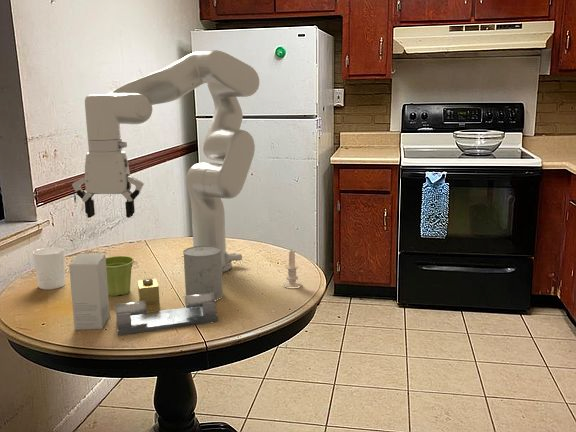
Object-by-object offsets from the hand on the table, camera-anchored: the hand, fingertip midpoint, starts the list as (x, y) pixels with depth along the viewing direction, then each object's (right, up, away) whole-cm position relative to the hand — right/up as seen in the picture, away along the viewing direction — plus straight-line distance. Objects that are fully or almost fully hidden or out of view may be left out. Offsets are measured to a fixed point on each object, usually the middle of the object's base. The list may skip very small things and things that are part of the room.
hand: (110, 216), depth 139 cm
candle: (+45, -19, +14) cm, 51 cm away
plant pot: (-1, -20, +10) cm, 23 cm away
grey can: (+22, -21, +7) cm, 31 cm away
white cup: (-21, -19, +16) cm, 33 cm away
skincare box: (-1, -25, -9) cm, 26 cm away
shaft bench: (+16, -24, -9) cm, 30 cm away
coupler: (+9, -22, 0) cm, 24 cm away
